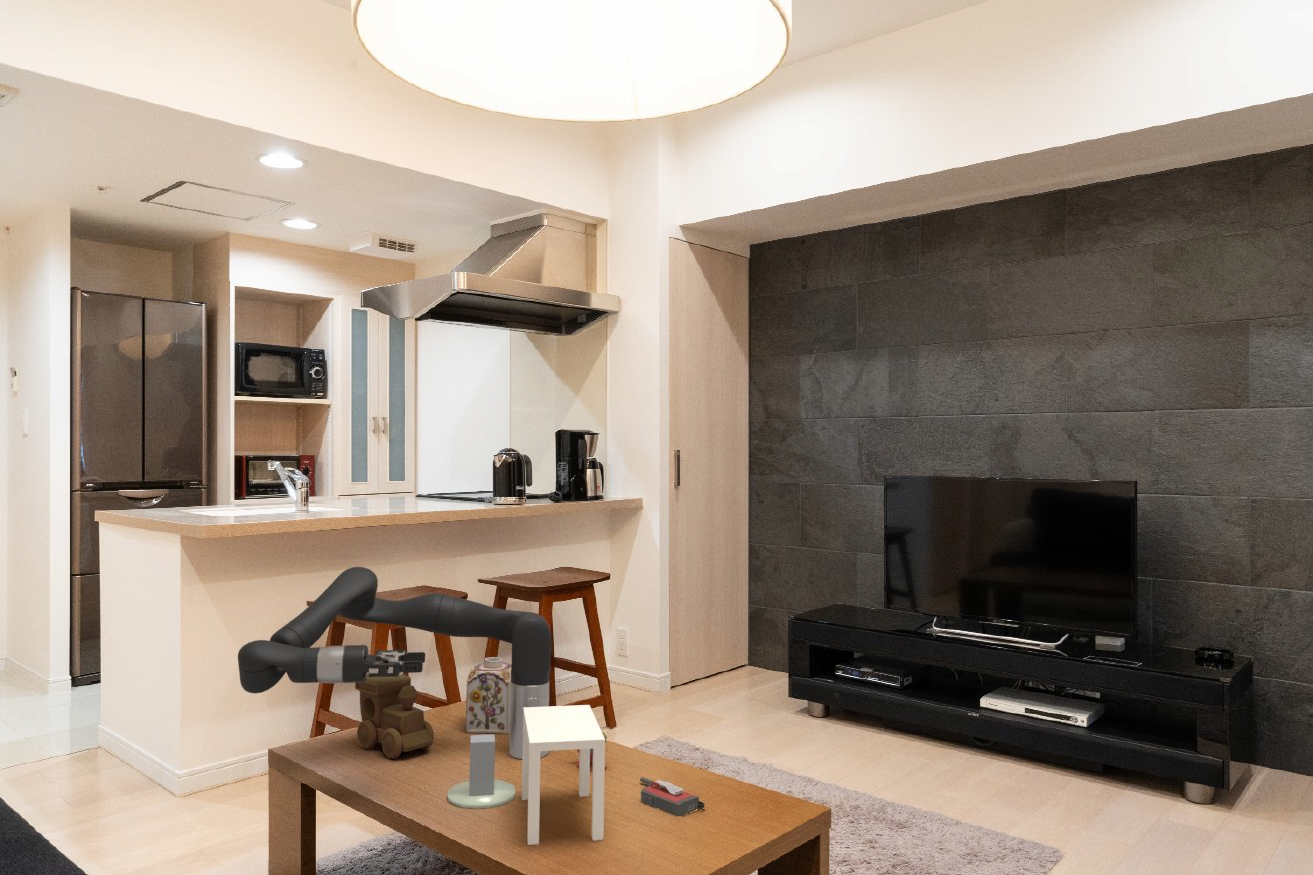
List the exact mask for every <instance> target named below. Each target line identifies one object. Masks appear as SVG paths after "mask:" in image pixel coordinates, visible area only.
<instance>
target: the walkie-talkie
mask: <svg viewBox="0 0 1313 875" xmlns="http://www.w3.org/2000/svg"><path fill="white" fill-rule="evenodd" d="M639 781H640V782H641V783H643V784H646V785H648V786H646V787H643V788H642V789H641V791H640V803H642V802H643V803H642V804H644V803H645V805H647V806H649V805H650V806H649V807H652V808H655V809H657V808H659V809H661V810H660V811H662V810H663V812H665V813H667V814H670V815H672V816H675V815H676V816H675V817H677V816H682V815H684V816H686V815H685V814H687V813H690V812H692V811H694V810H696V809H698V808H699V809H704V808H705V805H706V804H705V803H704V802H703V801H701V800H700V797H699V796H697V795H694V794H692V793H689V792H687V791H685V790H684V788H683V787H680V786H678V785H675V784H673V783H671V782H669V781H666V780H663V779H658V780H655V781H654V780H651V779H648V778H646V777H643V776H642V777H640V778H639ZM659 809H658V810H659ZM692 813H693V812H692ZM690 814H691V813H690ZM687 815H688V814H687ZM682 817H683V816H682Z"/></svg>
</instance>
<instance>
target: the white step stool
mask: <svg viewBox="0 0 1313 875" xmlns="http://www.w3.org/2000/svg"><path fill="white" fill-rule="evenodd" d="M601 731H602V729H601V728H600V724H599V722H598V721H597V718H596V715H595V714H594V711H593V710H592V707H591V705H590V704H581V705H580V704H579V705H577V704H576V705H555V706H554V705H553V706H552V705H551V706H550V705H549V706H548V707H523V754H522V759H521V761H522V764H521V765H522V766H521V768H522V769H521V770H522V771H521V800H522V801H527V831H526V832H527V833H526V834H527V838H526V840H527V845H528V846H530V845H531V846H533V845H539V844H540V805H541V803H540V800H541V798H540V797H541V757H540V752H541V751H548V752H551V751H572V750H574V751H575V750H577V749H579V752H578V754H579V755H578V757H579V758H578V762H579V767H578V771H579V772H578V795H579V796H578V797H580V798H582V797H590V781H591V780H590V770H591V767H590V765H591V762H590V749H593V762H592V781H591V782H592V783H591V786H592V788H591V791H592V792H591V839H592V841H604V832H605V831H604V830H605V827H604V825H605V772H606V769H605V767H606V763H605V762H606V743H605V738H604V736H603V734H602V732H603V731H602V732H601ZM577 751H578V750H577Z"/></svg>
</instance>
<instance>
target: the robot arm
mask: <svg viewBox="0 0 1313 875" xmlns="http://www.w3.org/2000/svg"><path fill="white" fill-rule="evenodd" d="M378 582H379V581H378V576H377V575H376V573H375V572H374V571H373V570H371V569H370V568H367V567H364V566H352V567H350V568H347V569H345V570H343V571H342V572H341V573H340V574H338V576H337V577H336V578H335V579H334V580H333V582H332V583H330V585H329V586H328V587H327V588H326V589H325V590H324V591H323V592H322V593H321V594H320V595H319V596H318V597H317V598H316V599H315V600H314V601H313V602H312V603H311V604H310V605H309V606H308V607H306V608H305V609H304V610H303V611H301V613H299V614H298V615H297V616H296V617H294V618H293V619H292V620H289V621H288V623H286V624H285V625H283V626H282V627H281V628H279V629H278V630H277V631H275V632H274V633H273V634H272V636H271V637H270V639H269V640H266V639H265V640H264V639H257V640H253V641H249V642H247V643H246V644H244V645H243V646H241V647H240V649H239V651H238V652H237V653H238V654H237V662H238V672H239V682H240V686H241V688H242V689H243V690H244V691H246V692H247V693H250V694H261V693H264V692H267V691H268V690H270V689H272V688H273V687H275V686H276V685H277V684H278V683H279V682H280V681H281V679H282V678H283V677H284V676H285V674H287V677H288V679H289V680H290V682H292V683H294V684H310V683H311V684H314V683H316V684H317V683H324V684H351V683H352V684H353V683H354V684H355V683H358V682H365V681H366V679H367V675H368V677H397V676H399V675H401V674H403V675H404V674H413V673H414V674H415V673H422V672H423V670H424V669H423V666H424V664H425V662H426V653H425V652H424V651H417V652H414V651H413V652H411V651H410V652H408V651H406V650H405V649H389V650H388V649H387V650H386V649H384V650H381V649H378V650H375V654H369V647H368V646H367V645H366V644H360V645H358V644H357V645H355V644H352V645H350V644H349V645H329V646H322V647H321V646H320V647H318V646H317V647H312V646H314V644H316V643H317V642H318V640H320V639H321V637H322V636H323V635H324V634H325V633H326V631H327V630H328V628H329V627H330V625H332V623H333V622H334V620H335V618H336V617H337V616H340V617H342V618H345V619H348V620H351V621H352V620H353V621H357V622H358V621H359V622H366V623H367V622H368V623H377V624H386V625H392V626H393V625H394V626H399V627H405V628H411V629H415V630H416V629H417V630H420V631H426V632H429V633H434V634H438V635H442V636H448V637H454V638H455V637H456V638H489V639H494V640H498V641H502V642H505V643H509V644H511V663H510V664H511V698H510V733H509V756H511V757H513V758H515V759H521V760H522V754H523V707H548V706H550V673H551V660H552V658H551V657H552V656H551V655H552V653H551V652H552V632H551V631H552V630H551V629H550V628H551V627H550V626H549V624H548V622H547V620H546V619H545V618H544V616H542V615H541V614H539V613H536V612H534V611H533V612H532V611H522V610H521V611H520V610H512V609H511V610H510V609H504V608H503V609H502V608H497V607H493V606H489V605H486V604H484V603H480V602H476V601H473V600H470V599H469V600H468V599H466V598H465V599H464V598H462V597H458V596H452V595H449V594H444V593H439V592H432V593H431V592H430V593H426V594H425V593H424V594H421V595H418V596H413V597H410V598H407V599H401V600H393V599H383V598H378V597H376V596H377V591H378V587H379V586H378V585H379V583H378ZM548 754H549V751H541V752H540V758H543V757H545V756H547V755H548Z"/></svg>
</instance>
